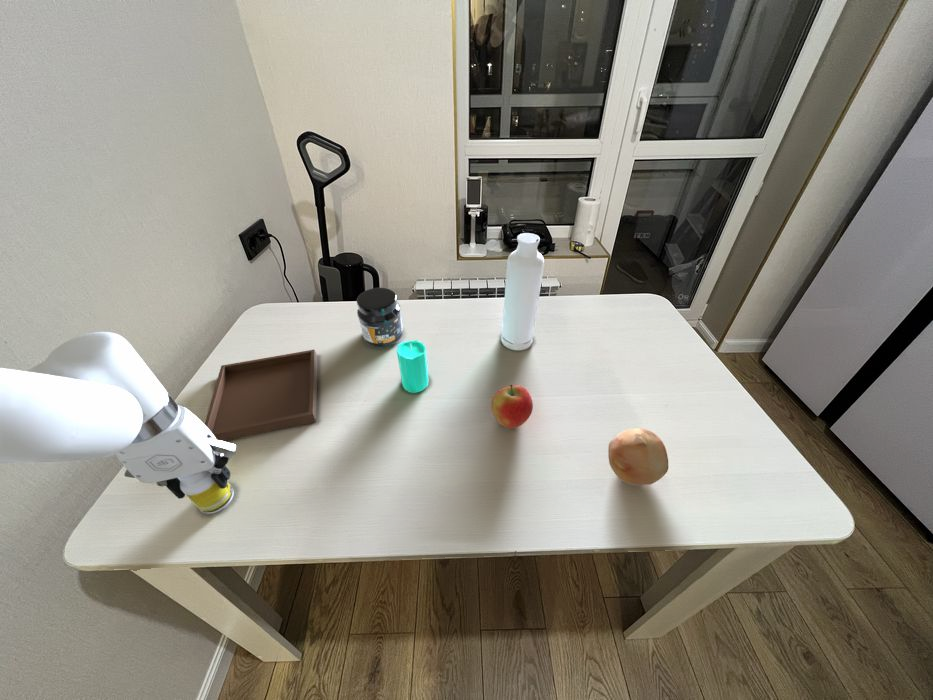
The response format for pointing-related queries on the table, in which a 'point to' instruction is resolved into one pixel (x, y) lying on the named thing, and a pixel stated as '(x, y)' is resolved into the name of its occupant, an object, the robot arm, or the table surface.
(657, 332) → the table surface
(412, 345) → the candle
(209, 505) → the supplement bottle
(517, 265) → the bottle
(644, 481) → the onion
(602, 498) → the table surface
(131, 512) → the table surface
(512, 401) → the apple
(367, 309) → the supplement container
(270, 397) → the tray
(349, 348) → the table surface
